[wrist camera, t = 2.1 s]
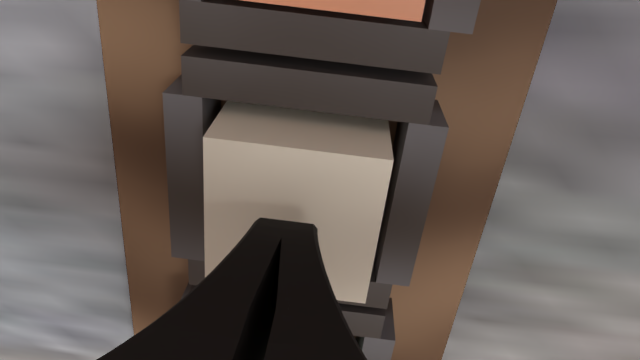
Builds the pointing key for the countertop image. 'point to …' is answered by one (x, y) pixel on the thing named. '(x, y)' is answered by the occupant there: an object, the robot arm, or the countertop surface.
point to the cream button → (299, 184)
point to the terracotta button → (361, 7)
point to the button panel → (328, 97)
